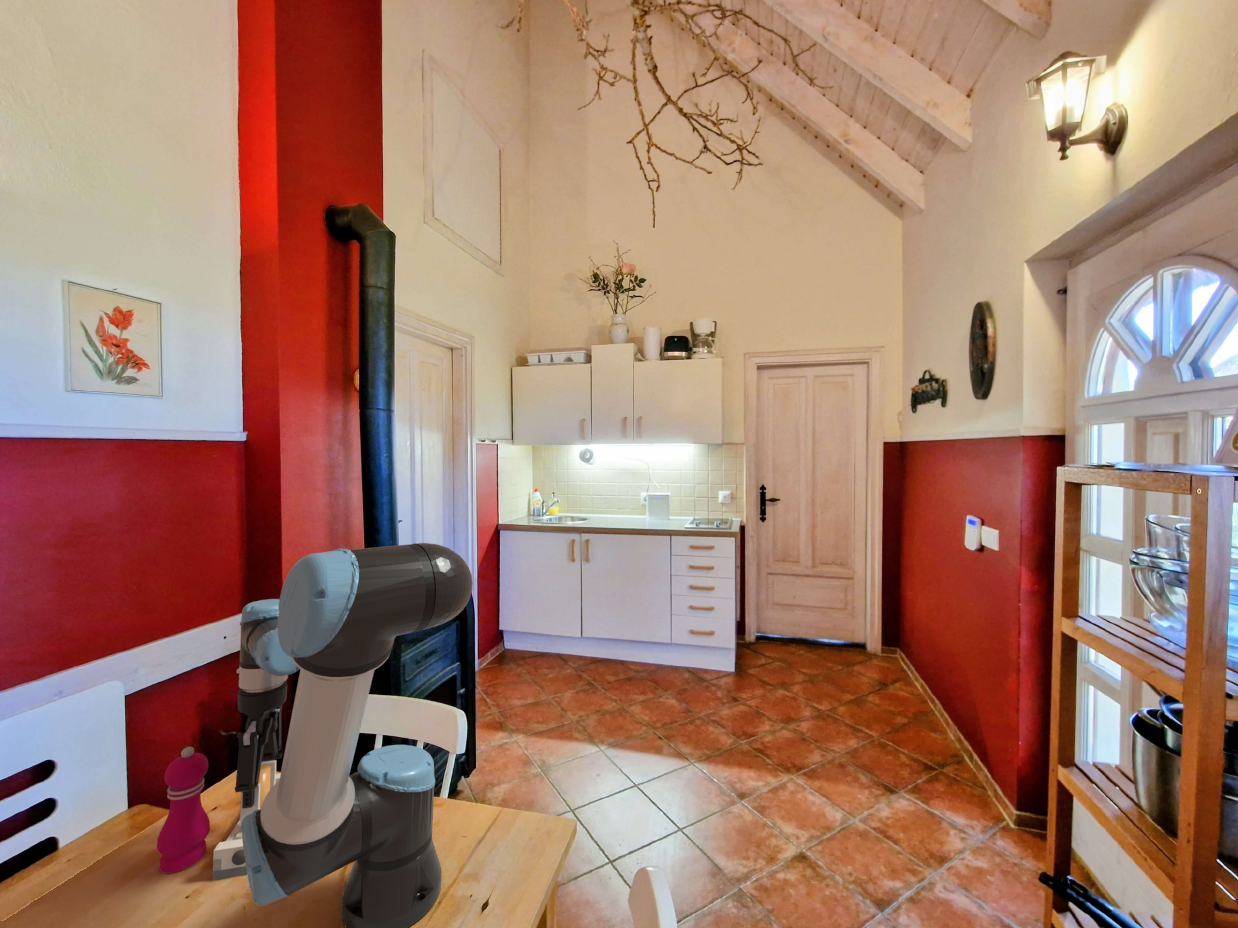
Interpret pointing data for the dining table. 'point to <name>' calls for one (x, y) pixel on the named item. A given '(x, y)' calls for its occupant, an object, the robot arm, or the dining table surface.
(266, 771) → the carriage
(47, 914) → the dining table surface
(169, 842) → the pepper mill
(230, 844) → the rail track
